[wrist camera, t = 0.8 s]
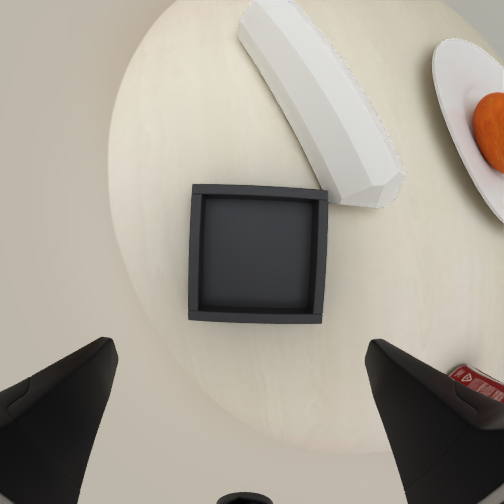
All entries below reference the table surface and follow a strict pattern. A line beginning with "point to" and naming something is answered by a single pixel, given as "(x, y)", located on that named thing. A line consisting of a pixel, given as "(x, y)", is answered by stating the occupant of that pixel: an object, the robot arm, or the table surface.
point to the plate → (474, 113)
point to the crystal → (322, 105)
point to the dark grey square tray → (257, 254)
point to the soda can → (479, 382)
